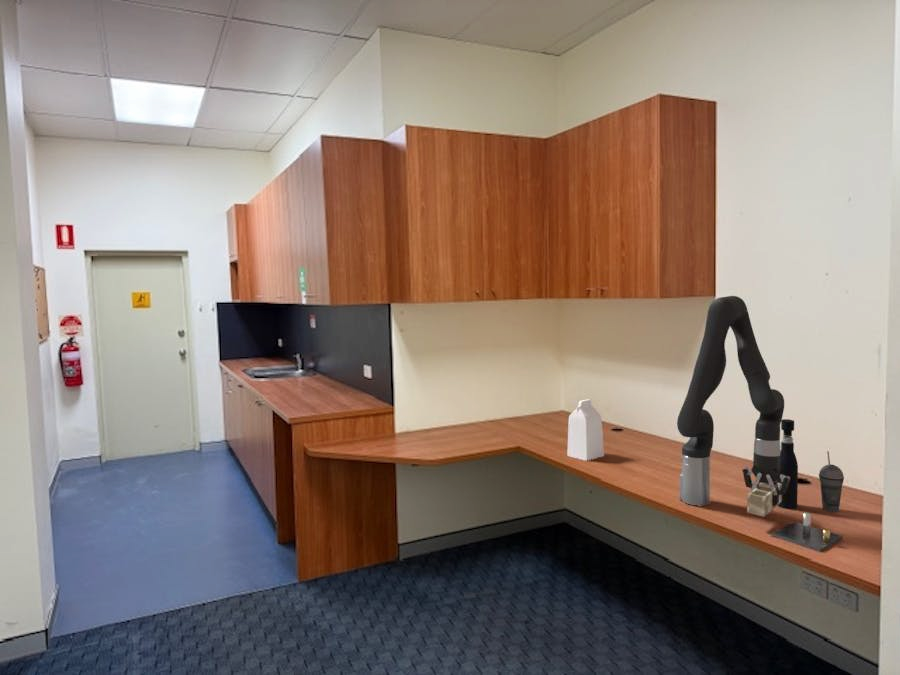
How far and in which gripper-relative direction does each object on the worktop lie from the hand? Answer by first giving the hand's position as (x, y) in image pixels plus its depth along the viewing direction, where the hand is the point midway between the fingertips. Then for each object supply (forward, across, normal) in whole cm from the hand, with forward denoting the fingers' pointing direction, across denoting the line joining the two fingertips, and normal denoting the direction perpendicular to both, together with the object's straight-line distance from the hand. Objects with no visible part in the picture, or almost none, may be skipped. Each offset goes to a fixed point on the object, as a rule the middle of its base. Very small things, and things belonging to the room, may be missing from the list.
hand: (764, 503), depth 192 cm
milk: (+9, -86, +30) cm, 92 cm away
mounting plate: (+6, +13, -4) cm, 15 cm away
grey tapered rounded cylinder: (+7, +13, +26) cm, 29 cm away
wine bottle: (+7, +1, +21) cm, 22 cm away
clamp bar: (+1, 0, 0) cm, 1 cm away
